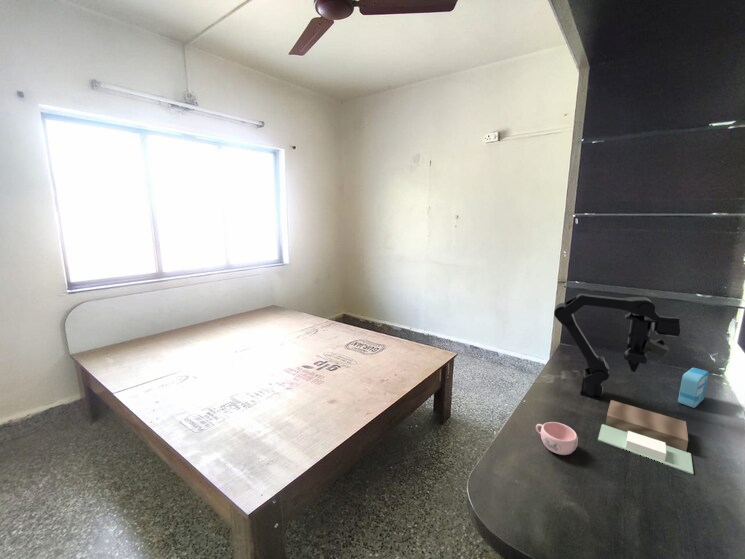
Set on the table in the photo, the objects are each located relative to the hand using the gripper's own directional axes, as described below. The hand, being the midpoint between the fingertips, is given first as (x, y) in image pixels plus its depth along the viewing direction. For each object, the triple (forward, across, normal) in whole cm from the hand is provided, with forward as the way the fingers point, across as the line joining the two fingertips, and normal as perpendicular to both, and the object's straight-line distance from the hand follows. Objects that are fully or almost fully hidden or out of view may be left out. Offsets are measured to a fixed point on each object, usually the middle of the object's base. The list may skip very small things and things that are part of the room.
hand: (633, 371), depth 122 cm
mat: (+13, -27, -5) cm, 31 cm away
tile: (+10, -28, -6) cm, 31 cm away
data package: (+13, +16, -18) cm, 28 cm away
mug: (+13, -44, +16) cm, 49 cm away
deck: (+13, -16, -5) cm, 21 cm away
